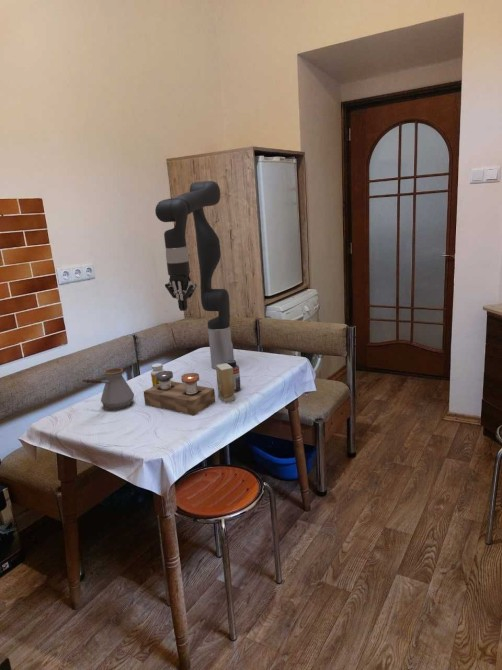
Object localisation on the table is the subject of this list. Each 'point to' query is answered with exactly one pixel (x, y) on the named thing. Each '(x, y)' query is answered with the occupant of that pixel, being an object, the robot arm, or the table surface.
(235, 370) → the supplement bottle
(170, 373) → the plug grey
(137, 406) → the table surface
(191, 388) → the plug rust
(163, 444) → the table surface
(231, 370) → the skincare box
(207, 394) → the socket board
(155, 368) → the supplement bottle
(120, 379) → the coffee pot
